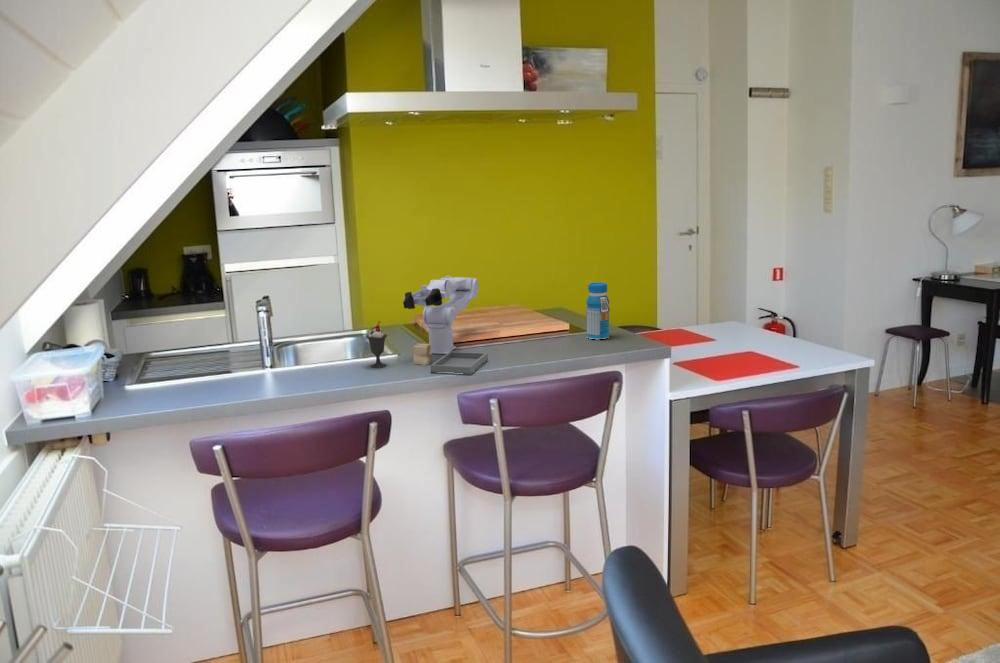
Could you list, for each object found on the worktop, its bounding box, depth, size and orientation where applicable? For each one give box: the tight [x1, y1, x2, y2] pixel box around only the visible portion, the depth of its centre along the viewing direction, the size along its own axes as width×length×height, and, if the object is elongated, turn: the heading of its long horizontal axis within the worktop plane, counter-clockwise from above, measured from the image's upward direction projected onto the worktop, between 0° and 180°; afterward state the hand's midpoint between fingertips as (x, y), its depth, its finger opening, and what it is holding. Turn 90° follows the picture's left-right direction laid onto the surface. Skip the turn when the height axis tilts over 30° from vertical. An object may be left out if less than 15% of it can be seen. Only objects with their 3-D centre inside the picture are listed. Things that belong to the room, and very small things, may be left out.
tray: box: [430, 351, 489, 376], centre depth 250 cm, size 18×13×2 cm
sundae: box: [365, 321, 388, 369], centre depth 252 cm, size 7×7×15 cm
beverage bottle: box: [585, 281, 611, 340], centre depth 282 cm, size 8×8×20 cm
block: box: [412, 343, 433, 365], centre depth 255 cm, size 4×4×6 cm
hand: (415, 303), depth 248 cm, fingers open, 7 cm apart
